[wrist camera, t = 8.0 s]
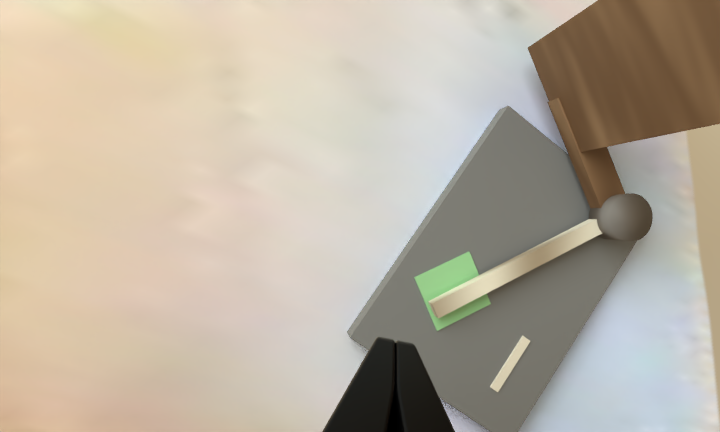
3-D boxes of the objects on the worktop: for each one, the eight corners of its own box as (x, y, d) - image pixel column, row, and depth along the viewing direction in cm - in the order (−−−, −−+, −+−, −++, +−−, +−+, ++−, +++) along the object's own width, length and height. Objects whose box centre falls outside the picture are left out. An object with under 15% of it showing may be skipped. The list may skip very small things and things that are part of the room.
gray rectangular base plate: (500, 435, 24) (510, 445, 23) (347, 332, 23) (350, 337, 22) (635, 220, 26) (650, 221, 24) (499, 110, 24) (509, 105, 23)
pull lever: (440, 329, 22) (704, 525, 8) (349, 123, 21) (473, -44, 7) (634, 227, 24) (1113, 248, 10) (557, 35, 23) (967, -231, 9)
